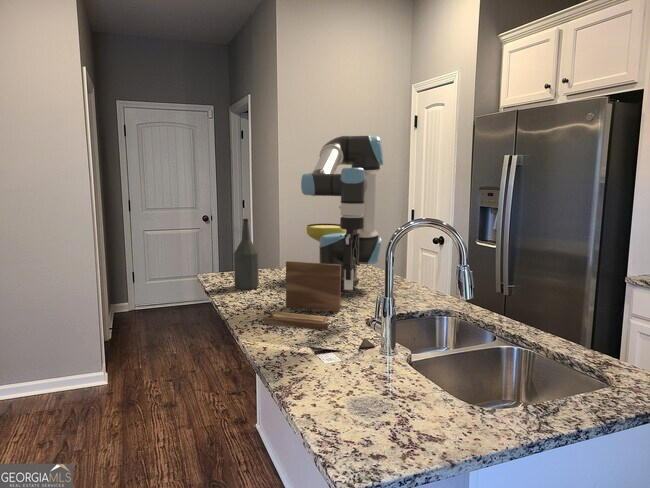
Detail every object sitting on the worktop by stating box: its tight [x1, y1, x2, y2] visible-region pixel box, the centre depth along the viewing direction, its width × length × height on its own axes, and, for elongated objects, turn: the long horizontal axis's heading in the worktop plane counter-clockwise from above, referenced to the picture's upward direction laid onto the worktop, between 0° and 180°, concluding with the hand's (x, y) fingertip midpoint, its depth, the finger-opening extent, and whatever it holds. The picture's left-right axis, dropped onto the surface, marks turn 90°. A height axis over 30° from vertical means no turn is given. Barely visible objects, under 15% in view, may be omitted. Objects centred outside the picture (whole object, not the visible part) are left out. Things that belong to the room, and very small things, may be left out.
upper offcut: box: [272, 311, 327, 323], centre depth 158 cm, size 4×17×2 cm, turn 74°
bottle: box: [233, 218, 260, 291], centre depth 207 cm, size 10×10×30 cm
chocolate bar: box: [309, 337, 376, 356], centre depth 142 cm, size 9×1×18 cm
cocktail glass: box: [306, 223, 346, 243], centre depth 226 cm, size 18×18×25 cm
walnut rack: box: [263, 260, 342, 331], centre depth 163 cm, size 21×22×18 cm
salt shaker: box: [342, 257, 361, 293], centre depth 157 cm, size 6×6×12 cm
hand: (350, 286), depth 158 cm, fingers closed on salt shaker, 6 cm apart
